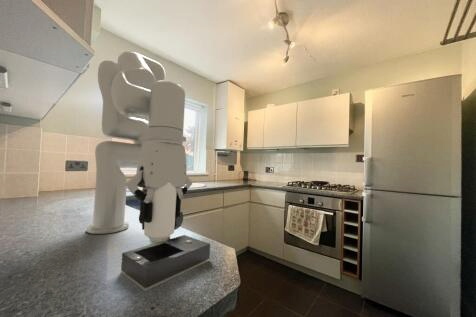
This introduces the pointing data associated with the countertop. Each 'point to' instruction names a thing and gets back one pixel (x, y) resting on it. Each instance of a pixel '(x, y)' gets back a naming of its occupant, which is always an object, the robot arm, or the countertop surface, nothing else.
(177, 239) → the grey pocketed holder block
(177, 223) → the pneumatic valve
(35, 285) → the countertop surface
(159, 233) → the beverage can
